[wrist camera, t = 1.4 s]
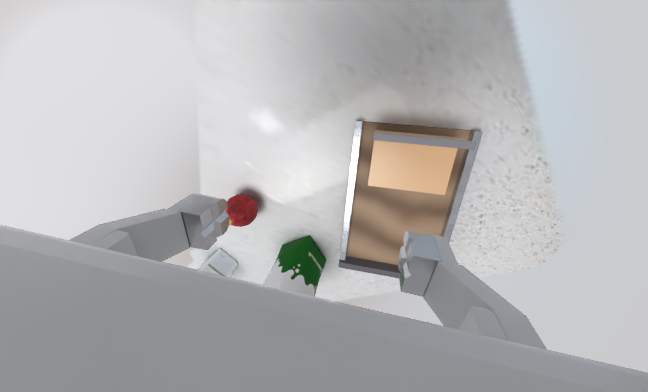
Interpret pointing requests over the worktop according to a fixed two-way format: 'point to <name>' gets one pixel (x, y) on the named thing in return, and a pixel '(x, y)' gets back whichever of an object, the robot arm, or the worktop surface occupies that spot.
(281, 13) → the worktop surface
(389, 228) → the dock
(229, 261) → the syrup box
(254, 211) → the onion
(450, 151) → the cart
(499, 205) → the worktop surface
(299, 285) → the milk carton
